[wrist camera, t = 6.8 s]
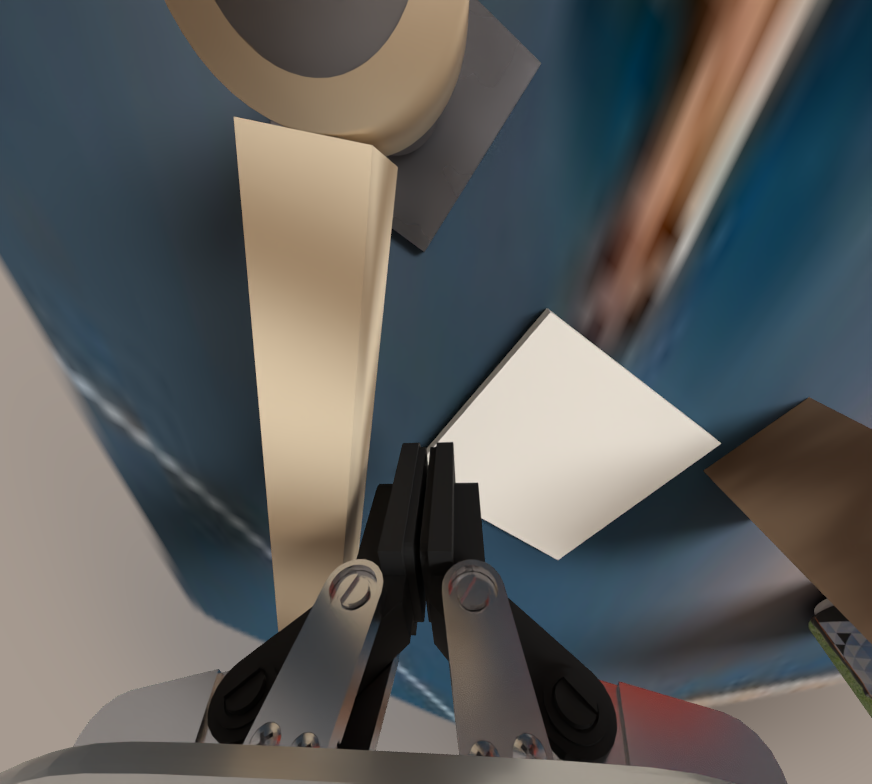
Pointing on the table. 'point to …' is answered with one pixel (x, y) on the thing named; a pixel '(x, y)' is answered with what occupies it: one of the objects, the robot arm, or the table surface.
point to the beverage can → (845, 649)
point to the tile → (566, 439)
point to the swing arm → (322, 234)
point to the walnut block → (811, 500)
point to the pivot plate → (461, 127)
